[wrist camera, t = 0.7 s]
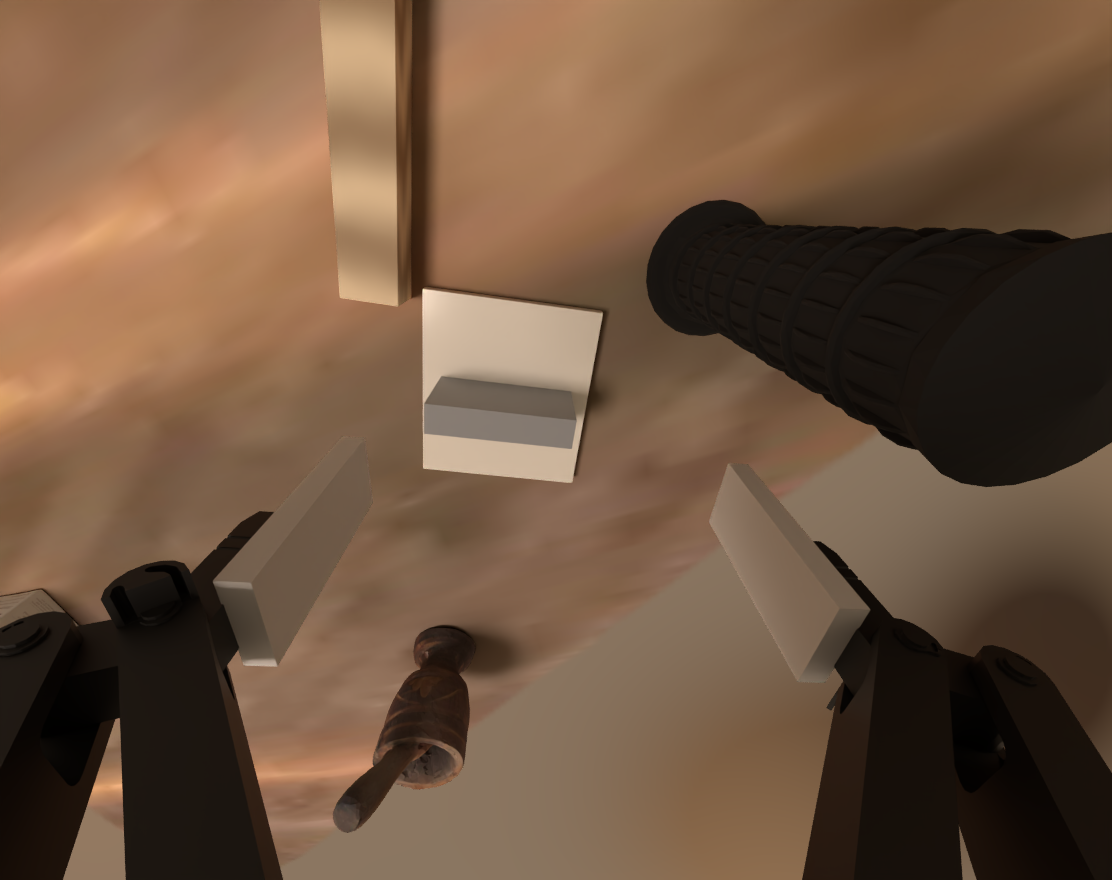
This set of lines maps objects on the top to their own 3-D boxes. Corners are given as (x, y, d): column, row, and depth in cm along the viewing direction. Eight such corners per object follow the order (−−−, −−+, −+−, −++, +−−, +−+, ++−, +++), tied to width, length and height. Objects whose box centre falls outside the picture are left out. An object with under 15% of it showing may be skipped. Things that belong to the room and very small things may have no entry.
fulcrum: (426, 286, 33) (399, 302, 27) (601, 310, 35) (615, 330, 28) (426, 461, 41) (405, 507, 34) (571, 476, 42) (577, 522, 36)
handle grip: (662, 191, 31) (634, 328, 36) (1043, 100, 8) (821, 538, 12) (792, 209, 32) (749, 341, 36) (1496, 178, 8) (1131, 560, 13)
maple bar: (343, -68, 25) (311, -116, 21) (413, -51, 25) (393, -96, 22) (360, 289, 34) (339, 297, 30) (412, 297, 34) (397, 306, 31)
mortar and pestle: (373, 636, 51) (286, 855, 34) (415, 597, 49) (345, 813, 31) (451, 675, 55) (410, 891, 38) (494, 641, 53) (471, 856, 35)
